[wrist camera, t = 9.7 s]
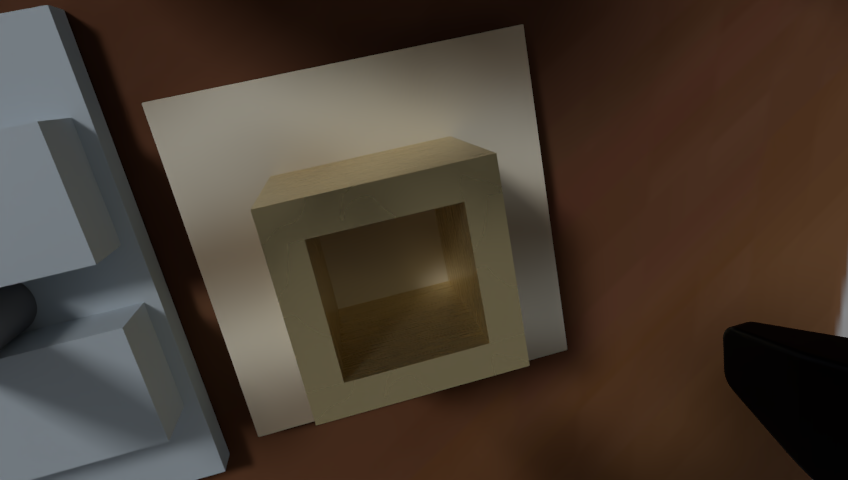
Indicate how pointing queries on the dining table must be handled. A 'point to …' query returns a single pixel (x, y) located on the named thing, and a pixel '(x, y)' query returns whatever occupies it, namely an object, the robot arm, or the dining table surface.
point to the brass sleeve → (405, 312)
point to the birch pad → (339, 140)
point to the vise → (83, 289)
